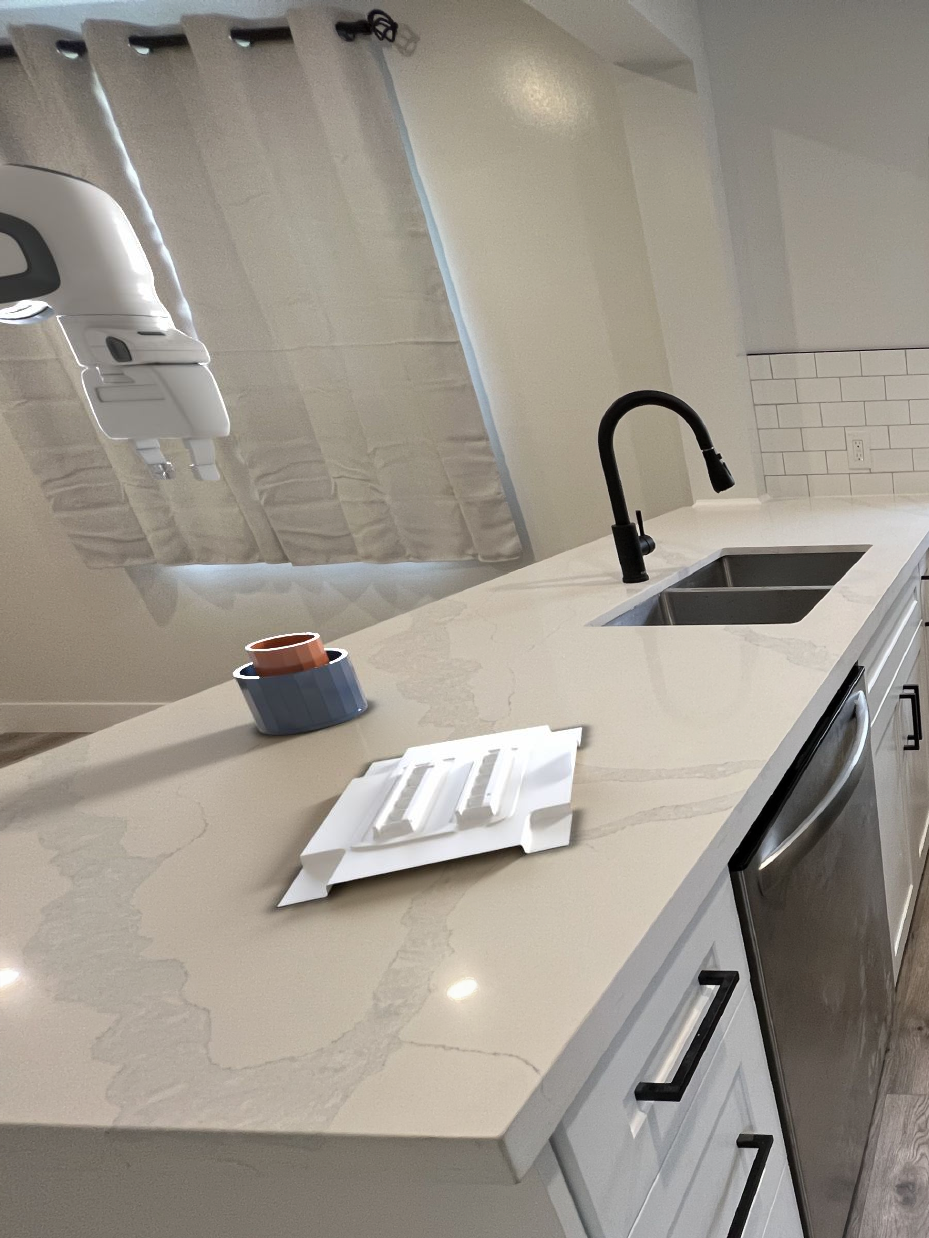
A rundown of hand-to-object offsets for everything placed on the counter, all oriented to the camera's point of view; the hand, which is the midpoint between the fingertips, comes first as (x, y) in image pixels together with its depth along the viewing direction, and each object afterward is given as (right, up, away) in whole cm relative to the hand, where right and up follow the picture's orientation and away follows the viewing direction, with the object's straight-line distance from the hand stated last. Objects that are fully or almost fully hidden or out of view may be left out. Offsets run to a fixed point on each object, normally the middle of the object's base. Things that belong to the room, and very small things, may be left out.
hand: (186, 480), depth 93 cm
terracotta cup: (+12, -27, +4) cm, 30 cm away
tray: (+43, -36, -17) cm, 59 cm away
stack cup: (+12, -28, +4) cm, 30 cm away
